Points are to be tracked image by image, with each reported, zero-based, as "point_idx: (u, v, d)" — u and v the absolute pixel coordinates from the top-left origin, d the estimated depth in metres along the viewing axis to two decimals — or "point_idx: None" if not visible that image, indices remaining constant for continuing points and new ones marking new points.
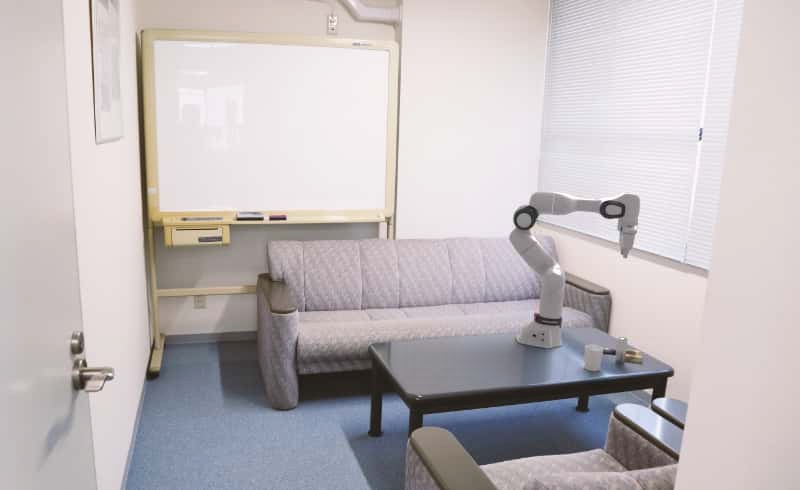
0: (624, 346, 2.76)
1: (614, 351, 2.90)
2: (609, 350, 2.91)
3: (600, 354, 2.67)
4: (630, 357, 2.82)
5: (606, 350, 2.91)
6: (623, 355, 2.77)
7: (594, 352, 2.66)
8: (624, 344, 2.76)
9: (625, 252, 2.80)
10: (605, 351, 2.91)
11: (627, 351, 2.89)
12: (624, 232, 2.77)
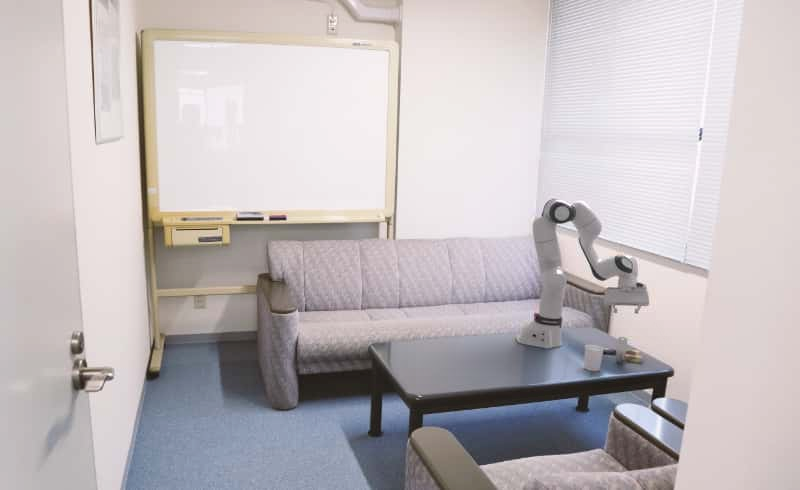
0: (624, 346, 2.76)
1: (614, 352, 2.90)
2: (609, 351, 2.90)
3: (600, 354, 2.67)
4: (630, 357, 2.82)
5: (606, 351, 2.91)
6: (623, 355, 2.77)
7: (594, 352, 2.66)
8: (624, 344, 2.76)
9: (639, 307, 2.85)
10: (605, 352, 2.91)
11: (627, 351, 2.89)
12: (645, 288, 2.87)
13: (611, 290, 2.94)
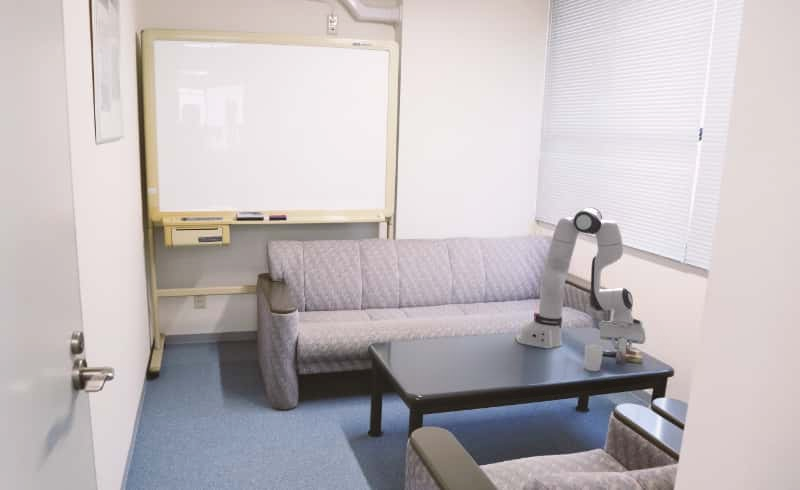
0: (624, 346, 2.76)
1: None
2: None
3: (600, 354, 2.67)
4: (630, 357, 2.82)
5: None
6: (623, 355, 2.77)
7: (594, 352, 2.66)
8: (624, 344, 2.76)
9: (631, 344, 2.78)
10: None
11: (627, 351, 2.89)
12: (641, 325, 2.81)
13: (607, 324, 2.84)
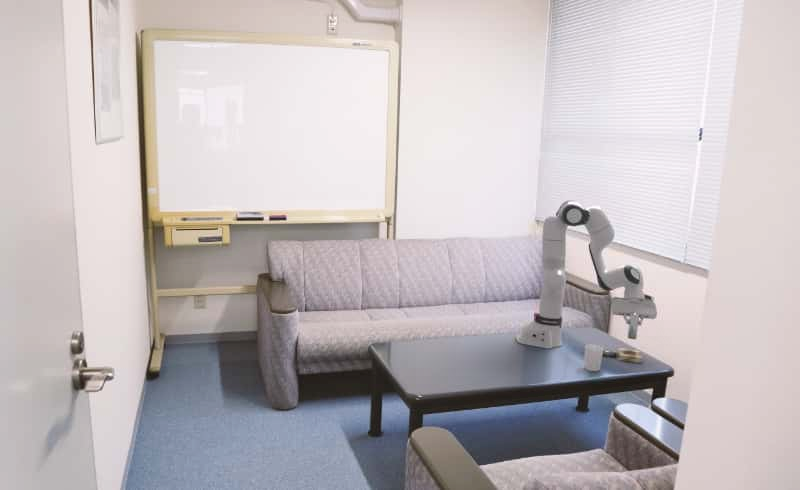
0: (636, 321, 2.81)
1: None
2: None
3: (600, 354, 2.67)
4: (630, 357, 2.82)
5: None
6: (635, 330, 2.82)
7: (594, 352, 2.66)
8: (636, 319, 2.81)
9: (643, 319, 2.83)
10: None
11: (627, 351, 2.89)
12: (653, 301, 2.86)
13: (619, 300, 2.89)
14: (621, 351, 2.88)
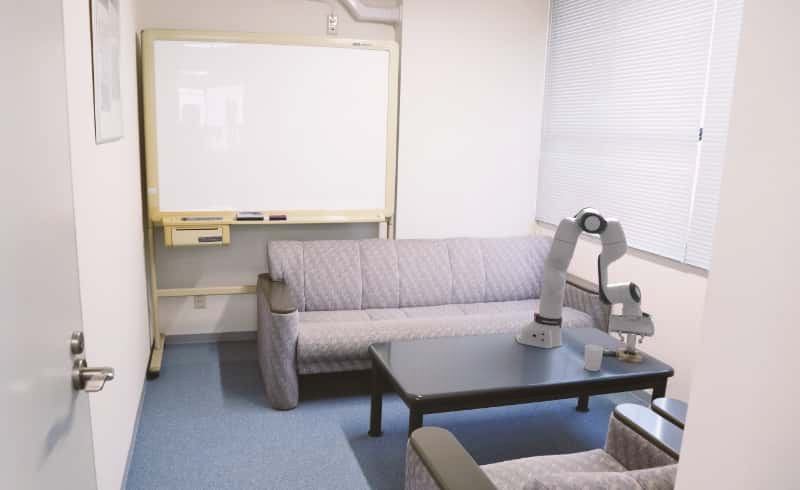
0: (634, 341, 2.83)
1: None
2: None
3: (600, 354, 2.67)
4: (630, 357, 2.82)
5: None
6: (632, 350, 2.84)
7: (594, 352, 2.66)
8: (633, 339, 2.83)
9: (643, 337, 2.85)
10: None
11: None
12: (650, 318, 2.88)
13: (616, 317, 2.91)
14: (621, 351, 2.88)
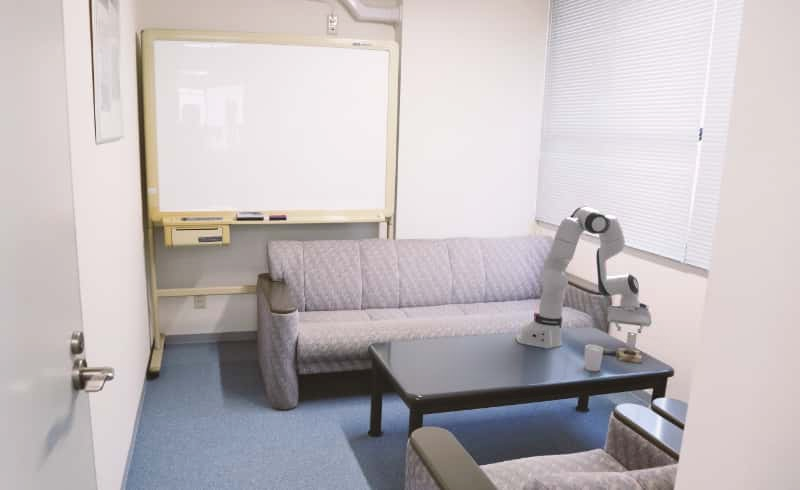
0: (634, 341, 2.83)
1: None
2: (609, 354, 2.90)
3: (600, 354, 2.67)
4: (630, 357, 2.82)
5: None
6: (632, 350, 2.84)
7: (594, 352, 2.66)
8: (633, 339, 2.83)
9: (642, 327, 2.96)
10: None
11: None
12: (647, 309, 2.99)
13: (615, 308, 3.02)
14: (621, 351, 2.88)
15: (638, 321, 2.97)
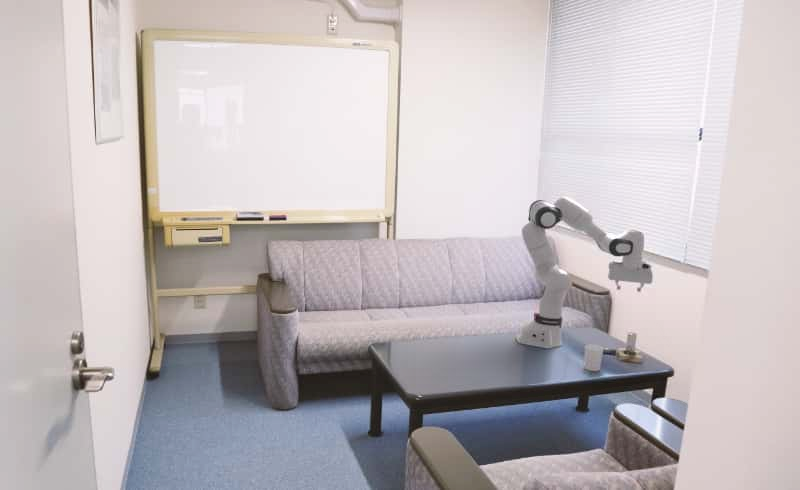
0: (634, 341, 2.83)
1: (614, 351, 2.90)
2: (609, 350, 2.91)
3: (600, 354, 2.67)
4: (630, 357, 2.82)
5: (606, 350, 2.91)
6: (632, 350, 2.84)
7: (594, 352, 2.66)
8: (633, 339, 2.83)
9: None
10: (605, 351, 2.91)
11: None
12: (650, 268, 2.90)
13: (616, 268, 2.94)
14: (621, 351, 2.88)
15: (638, 281, 2.93)
